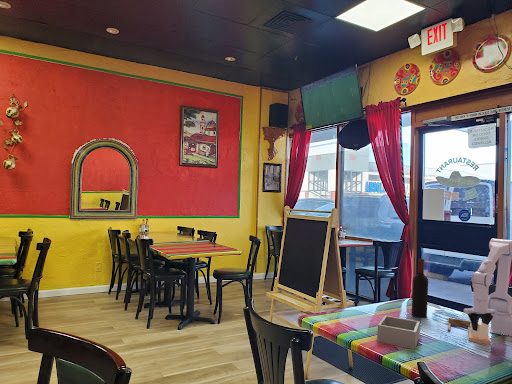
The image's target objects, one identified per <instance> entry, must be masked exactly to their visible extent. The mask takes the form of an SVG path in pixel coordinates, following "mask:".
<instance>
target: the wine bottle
mask: <svg viewBox="0 0 512 384" xmlns="http://www.w3.org/2000/svg"><path fill="white" fill-rule="evenodd" d="M417 261H418V265H417V274H416V275H414V276H413V277H412V293H411V294H412V296H411V316H412V315H413V316H412V317H415V318H420V319H426V318H427V317H428V300H429V299H428V296H429V278H428V277H427V276H426V275H425V273H424V272H425V270H424V269H425V259H424V258H418V260H417Z"/></svg>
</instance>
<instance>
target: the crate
mask: <svg viewBox="0 0 512 384" xmlns="http://www.w3.org/2000/svg"><path fill="white" fill-rule="evenodd" d="M420 329H421V321H419V320H413V319H407V318H402V317H395V316H390V315H384V316H383V317H382V318H381V320H380V322H379V323H378V324H377V331H376V332H377V334H376V335H377V337H376V338H377V339H376V342H377V343H381V344H388V345H392V346H397V347H402V348H407V349H412V350H416V348H417V345H418V343H419V339H420Z"/></svg>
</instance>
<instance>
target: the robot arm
mask: <svg viewBox="0 0 512 384" xmlns="http://www.w3.org/2000/svg"><path fill="white" fill-rule="evenodd" d="M488 248H489V250H490V251H489V253H488V256H487V257H486V259H485V260H484V259H483V260H482V262H481V264H480V266H479V267H478V269H477V271H474V272H473V273H472V275H471V283H472V284H471V285H472V289H473V296H472V297H473V300H472V307H469V308H463V314H466V315H467V316H468V318H469V321H471V323H470V325H471V324H472V329H473V330H475V331H477V328H478V321H481V322H483V323H485V324H487V325H489V332H490V333H493V334H497V335H502V334H503V335H504V336H508V335H509V337H512V296H511V295H510V294H508V290H509V283H510V274H511V265H512V264H511V263H512V240H511V239H500V238H491V239H490V240H489V243H488ZM497 262H498V267H497V265H496V263H497ZM496 269H497V274H496V275H497V277H496V284H495V291H494V292H492V293H490V294H489V287H490V286H491V284H492V281H493V280H492V279H493V274H494V272H495V270H496ZM479 315H480V316H479ZM480 318H481V319H480ZM503 335H502V336H503Z"/></svg>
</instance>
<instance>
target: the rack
mask: <svg viewBox="0 0 512 384" xmlns="http://www.w3.org/2000/svg"><path fill="white" fill-rule="evenodd" d="M451 326H457V327H461V328H462V327H464V328H467V335H468V336H469V332H470V333H471V321H470V320H465V319H460V318H453V317H448V325H447V332H449V333H450V332H451Z"/></svg>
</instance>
